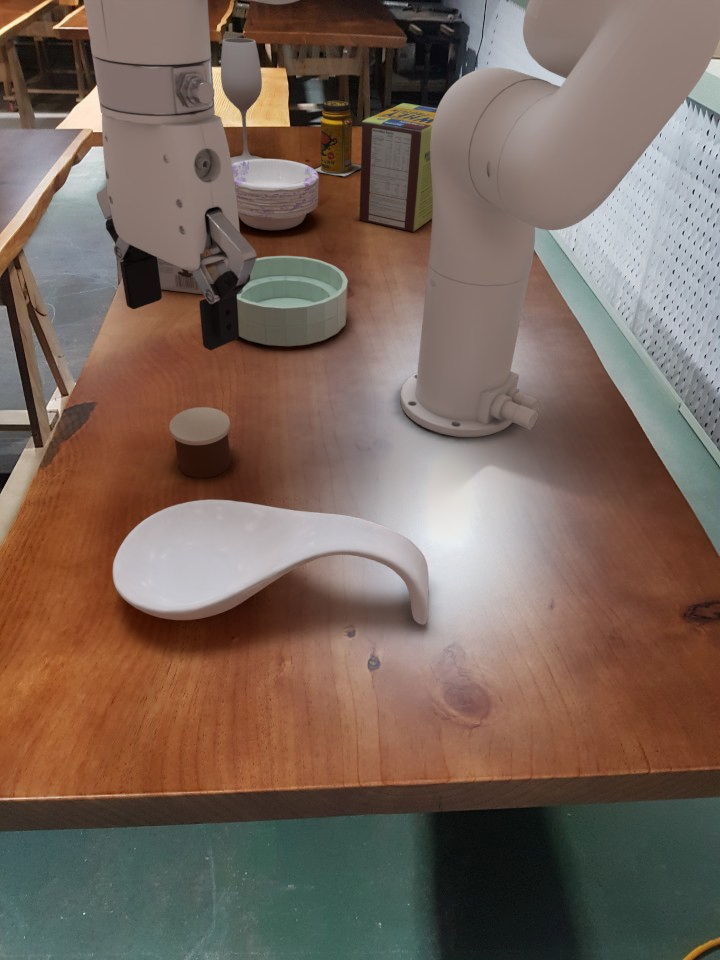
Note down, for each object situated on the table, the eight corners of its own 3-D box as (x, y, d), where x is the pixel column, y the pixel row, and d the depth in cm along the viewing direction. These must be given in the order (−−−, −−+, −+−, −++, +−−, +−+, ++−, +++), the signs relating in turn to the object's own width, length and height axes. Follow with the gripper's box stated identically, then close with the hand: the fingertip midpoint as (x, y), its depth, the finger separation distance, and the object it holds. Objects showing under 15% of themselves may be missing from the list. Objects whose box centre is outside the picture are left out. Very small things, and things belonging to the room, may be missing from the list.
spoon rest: (97, 640, 51) (76, 570, 46) (146, 528, 60) (132, 461, 56) (427, 665, 50) (438, 598, 46) (427, 548, 59) (435, 482, 55)
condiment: (312, 171, 140) (311, 103, 133) (333, 161, 146) (333, 96, 139) (344, 177, 138) (346, 109, 130) (364, 167, 144) (367, 101, 136)
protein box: (449, 206, 127) (460, 110, 117) (413, 233, 116) (422, 129, 106) (396, 195, 130) (402, 101, 121) (357, 220, 120) (360, 119, 110)
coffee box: (185, 264, 103) (170, 145, 93) (227, 269, 102) (217, 149, 92) (158, 290, 96) (140, 164, 86) (203, 295, 95) (190, 169, 85)
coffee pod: (245, 461, 68) (242, 422, 65) (201, 488, 64) (195, 448, 62) (208, 438, 70) (203, 400, 67) (163, 463, 67) (156, 424, 64)
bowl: (370, 320, 91) (372, 280, 88) (286, 364, 82) (285, 320, 79) (286, 285, 99) (284, 246, 95) (200, 321, 89) (195, 280, 86)
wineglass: (272, 160, 145) (268, 40, 131) (249, 169, 140) (241, 45, 126) (243, 154, 148) (236, 36, 134) (219, 162, 143) (209, 40, 129)
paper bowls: (331, 232, 115) (332, 181, 110) (239, 242, 110) (235, 189, 105) (302, 202, 126) (301, 154, 121) (216, 210, 121) (212, 160, 116)
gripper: (288, 105, 46) (289, 344, 56) (125, 62, 54) (153, 278, 65) (195, 121, 41) (216, 378, 52) (33, 72, 49) (80, 302, 60)
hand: (181, 322), depth 58 cm, fingers open, 9 cm apart
